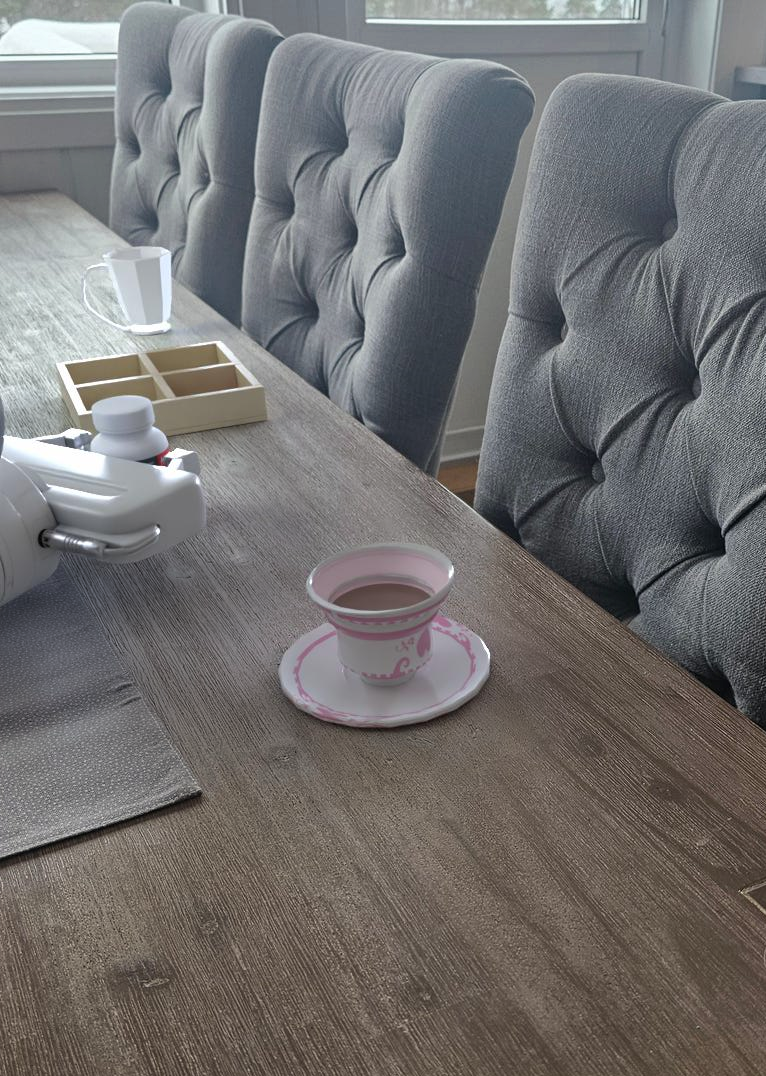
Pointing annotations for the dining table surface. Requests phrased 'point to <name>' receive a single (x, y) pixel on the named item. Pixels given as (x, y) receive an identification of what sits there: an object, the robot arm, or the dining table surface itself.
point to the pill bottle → (128, 430)
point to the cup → (138, 287)
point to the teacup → (383, 641)
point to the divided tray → (168, 387)
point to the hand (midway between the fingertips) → (137, 450)
